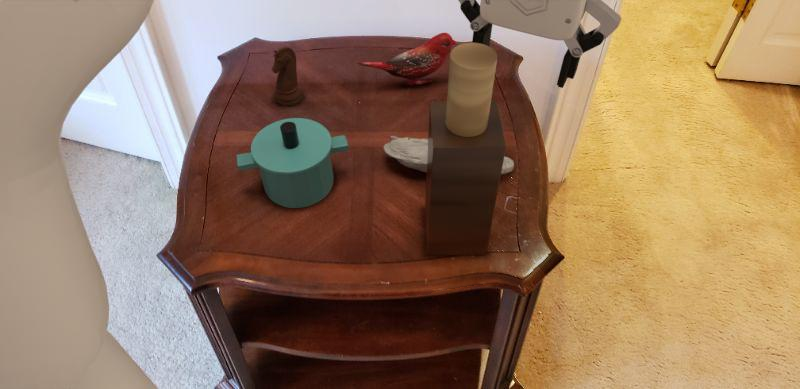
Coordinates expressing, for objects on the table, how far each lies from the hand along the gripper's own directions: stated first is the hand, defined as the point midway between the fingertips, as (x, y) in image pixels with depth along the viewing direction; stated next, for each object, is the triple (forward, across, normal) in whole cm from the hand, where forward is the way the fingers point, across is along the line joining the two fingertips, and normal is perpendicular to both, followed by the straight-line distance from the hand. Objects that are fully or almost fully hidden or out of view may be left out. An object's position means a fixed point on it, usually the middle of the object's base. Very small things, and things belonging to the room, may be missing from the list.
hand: (521, 69), depth 62 cm
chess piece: (+25, -42, +10) cm, 49 cm away
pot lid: (+17, -29, -7) cm, 34 cm away
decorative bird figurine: (+24, -24, +22) cm, 41 cm away
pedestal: (+25, -4, -6) cm, 26 cm away
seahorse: (+25, -9, +6) cm, 27 cm away
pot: (+25, -29, -7) cm, 39 cm away
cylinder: (+5, -4, -6) cm, 9 cm away
